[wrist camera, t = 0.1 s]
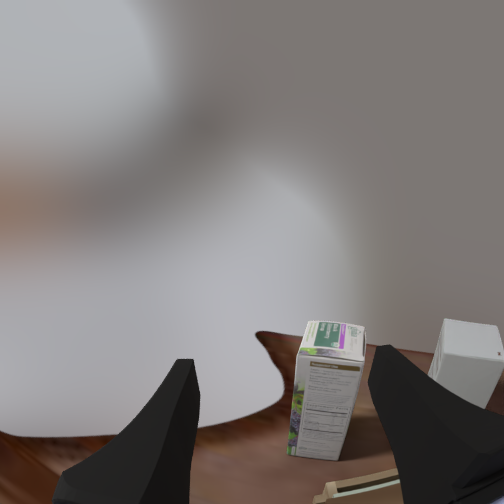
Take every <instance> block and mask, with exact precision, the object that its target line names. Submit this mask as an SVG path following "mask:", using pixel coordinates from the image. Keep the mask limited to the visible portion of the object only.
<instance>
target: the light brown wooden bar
mask: <svg viewBox="0 0 504 504" xmlns="http://www.w3.org/2000/svg"><path fill="white" fill-rule="evenodd" d="M325 504H404V503H403V496H402V490H401V485H400V483H397V484H393V485H389V486H386V487H382V488H378V489H374V490H370V491H365V492H361V493H356V494H351V495H346V496H341V497H335V498H329V499H326V502H325Z"/></svg>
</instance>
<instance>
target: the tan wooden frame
mask: <svg viewBox="0 0 504 504" xmlns="http://www.w3.org/2000/svg"><path fill="white" fill-rule="evenodd" d="M398 479H399V475H398V470H397V468H395V469H391V470H387V471H383V472H379V473H375V474H370V475H366V476H361V477H356V478H351V479H346V480H340V481H335V482H329V483H326V485H325V488H324V491H323V494H322V495H316V496H314V499H313V503H312V504H325V502H326V499H329V498H332V497H333V494H337V493H343V492H348V491H353V490H358V489H363V488H367V487H371V486H376V485H380V484H384V483H388V482H391V481H395V480H398Z"/></svg>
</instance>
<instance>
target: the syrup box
mask: <svg viewBox="0 0 504 504" xmlns="http://www.w3.org/2000/svg"><path fill="white" fill-rule="evenodd" d="M365 349H366V328H365V327H363V326H358V325H353V324H347V323H341V322H332V321H308V325H307V328H306V331H305V333H304V337H303V340H302V343H301V346H300V349H299V352H298V354H297V359H296V371H295V382H294V392H293V401H292V412H291V420H290V430H289V439H288V447H287V454H288V455H293V456H300V457H307V458H315V459H324V460H334V461H338V459H339V456H340V453H341V450H342V447H343V444H344V440H345V437H346V434H347V430H348V427H349V423H350V420H351V416H352V412H353V409H354V405H355V401H356V397H357V393H358V389H359V385H360V381H361V376H362V371H363V367H364V362H365Z"/></svg>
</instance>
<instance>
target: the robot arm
mask: <svg viewBox="0 0 504 504" xmlns="http://www.w3.org/2000/svg"><path fill="white" fill-rule="evenodd" d="M368 386H369V390H370V394H371V397H372V401H373V404H374V406H375V409H376V411H377V413H378V416H379V418H380V421H381V423H382V425H383V428H384V430H385V433H386V435H387V438H388V440H389V442H390V445H391V448H392V451H393V454H394V458H395V462H396V466H397V470H398V475H399V480H400V485H401V490H402V496H403V503H404V504H504V416H503V415H500V414H497V413H494V412H491V411H488V410H486V409H483V408H481V407H479V406H477V405H475V404H472V403H470V402H468V401H466V400H464V399H463V398H461V397H459V396H457V395H456V394H454V393H452V392H451V391H449V390H448V389H446V388H445V387H443V386H442V385H440V384H439V383H437V382H436V381H435V380H433V379H432V378H431V377H429V376H428V375H427V374H425V373H424V372H423V371H422V370H420V369H419V368H418V367H417V366H415V365H414V364H413V363H412V362H411V361H409V360H408V359H407V358H406V357H405V356H404V355H402V354H401V353H400V352H399V351H398V350H396V349H395V348H394V347H393V346H391V345H383V346H377V347H376V351H375V355H374V359H373V363H372V367H371V371H370V375H369V379H368ZM199 410H200V391H199V386H198V381H197V376H196V371H195V365H194V360H193V359H177V360H176V361H175V363H174V365H173V366H172V368H171V370H170V371H169V373H168V374H167V376H166V378H165V379H164V381H163V382H162V384H161V385H160V387H159V388H158V389H157V391H156V392H155V393H154V395H153V396H152V398H151V399H150V400H149V402H148V403H147V404H146V405H145V406H144V408H143V409H142V410H141V411H140V413H139V414H138V415H137V416H136V417H135V418H134V419H133V420H132V421H131V422H130V424H129V425H127V426H126V427H125V428H124V429H123V430H122V431H121V432H120V433H119V434H118V435H117V436H116V437H115V438H113V439H112V440H111V441H110V442H109V443H107V444H106V445H105V446H104V447H102V448H101V449H99V450H98V451H97V452H95V453H94V454H92V455H91V456H90V457H88V458H87V459H85V460H83V461H82V462H80V463H78V464H76V465H74V466H73V467H71V468H69V469H67V470H65V471H63V472H62V475H61V477H60V479H59V481H58V483H57V486H56V489H55V492H54V495H53V498H52V503H53V504H189V490H190V470H191V462H192V456H193V450H194V444H195V438H196V433H197V427H198V421H199Z"/></svg>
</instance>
